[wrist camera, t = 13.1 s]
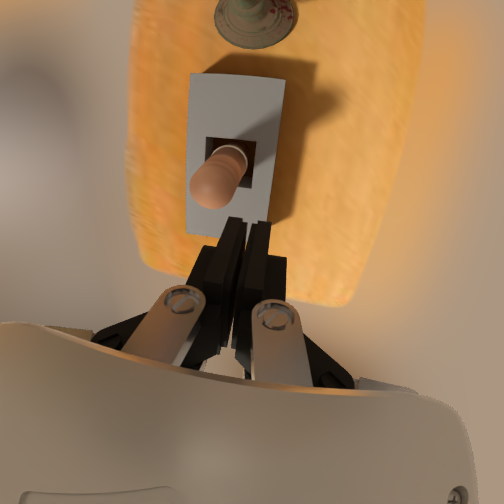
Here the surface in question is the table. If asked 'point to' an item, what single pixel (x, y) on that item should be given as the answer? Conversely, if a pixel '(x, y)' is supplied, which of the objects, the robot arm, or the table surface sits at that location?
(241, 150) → the dowel
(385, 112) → the table surface
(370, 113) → the table surface
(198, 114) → the seat board
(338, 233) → the table surface
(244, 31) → the candlestick holder
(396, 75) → the table surface
